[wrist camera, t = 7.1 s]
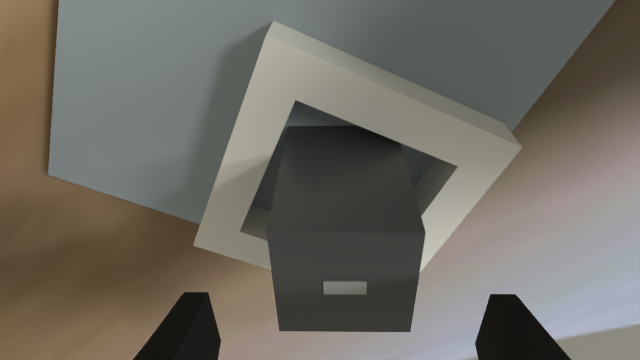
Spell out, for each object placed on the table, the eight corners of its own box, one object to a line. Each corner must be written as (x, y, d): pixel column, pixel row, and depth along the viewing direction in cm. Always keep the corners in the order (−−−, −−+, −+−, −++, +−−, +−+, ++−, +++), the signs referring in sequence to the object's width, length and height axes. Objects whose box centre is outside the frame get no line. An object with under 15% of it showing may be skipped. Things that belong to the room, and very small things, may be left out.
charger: (395, 125, 15) (426, 233, 10) (388, 209, 17) (410, 333, 12) (288, 126, 15) (266, 234, 10) (294, 210, 18) (279, 332, 13)
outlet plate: (643, -60, 12) (708, -53, 10) (388, 274, 21) (394, 317, 19) (102, -388, 9) (32, -477, 7) (58, 164, 18) (20, 200, 15)
